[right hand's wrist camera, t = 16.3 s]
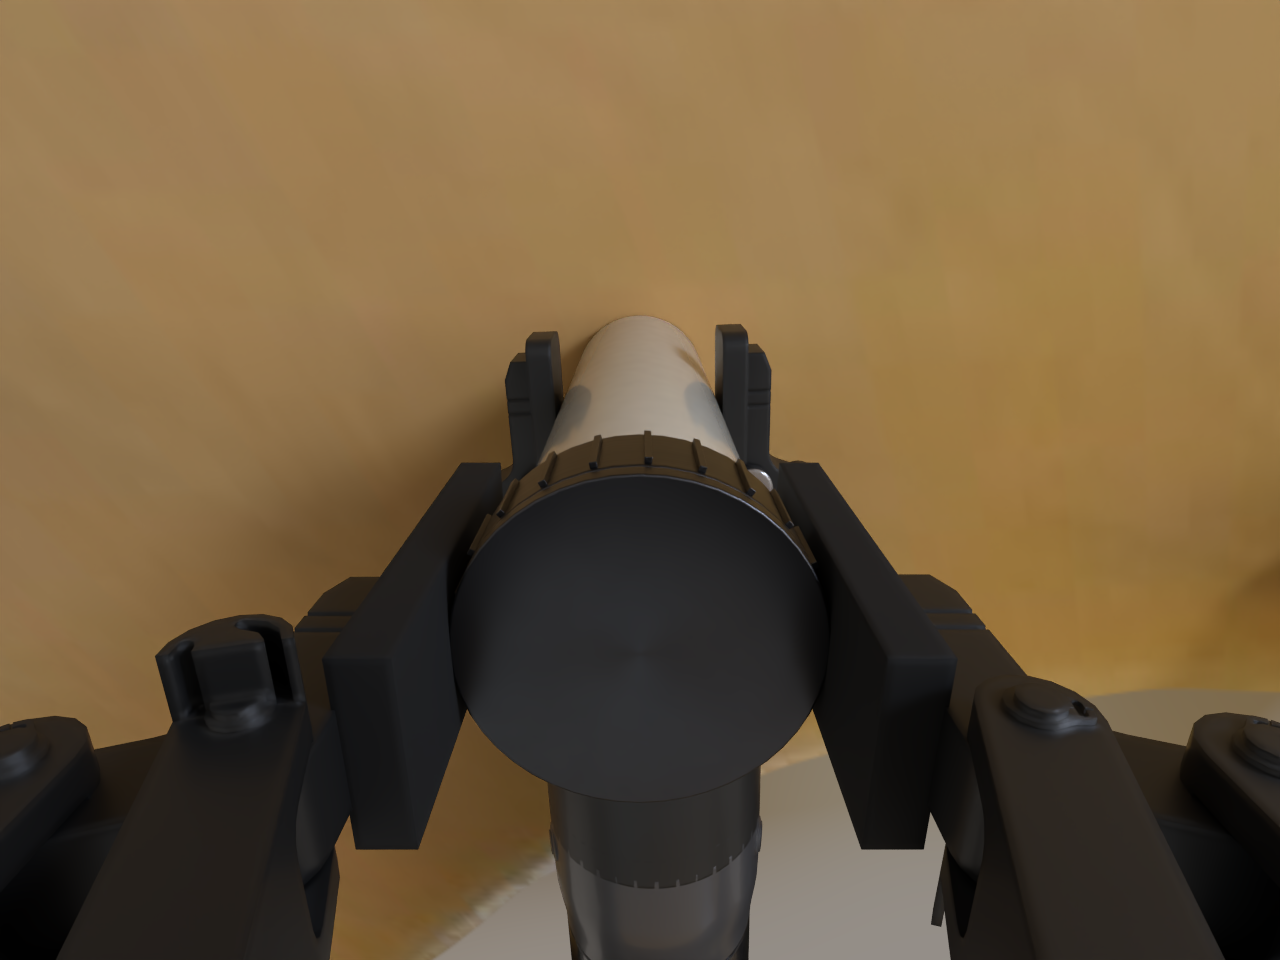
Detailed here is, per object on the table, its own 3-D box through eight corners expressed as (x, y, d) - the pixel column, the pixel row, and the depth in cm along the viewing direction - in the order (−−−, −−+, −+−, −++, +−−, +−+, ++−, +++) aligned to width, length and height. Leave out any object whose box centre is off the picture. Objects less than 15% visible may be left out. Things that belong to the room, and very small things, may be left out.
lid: (416, 643, 12) (379, 714, 11) (569, 361, 11) (555, 390, 9) (695, 772, 13) (703, 857, 12) (875, 532, 12) (917, 588, 10)
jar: (582, 309, 27) (485, 470, 10) (708, 321, 27) (822, 500, 10) (574, 431, 28) (480, 745, 12) (693, 442, 28) (770, 767, 12)
